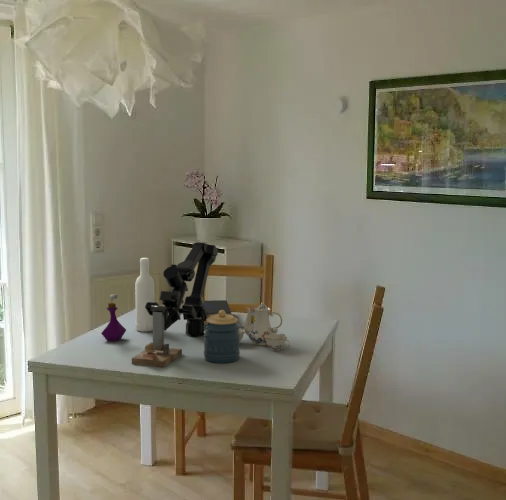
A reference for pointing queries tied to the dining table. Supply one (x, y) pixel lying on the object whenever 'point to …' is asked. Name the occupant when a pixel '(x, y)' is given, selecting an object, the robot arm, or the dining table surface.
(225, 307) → the book
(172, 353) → the board
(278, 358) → the dining table surface
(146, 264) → the bottle
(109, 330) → the perfume bottle
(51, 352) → the dining table surface
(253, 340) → the chinaware
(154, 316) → the lever
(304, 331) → the dining table surface
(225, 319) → the canister
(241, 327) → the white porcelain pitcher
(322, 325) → the dining table surface
